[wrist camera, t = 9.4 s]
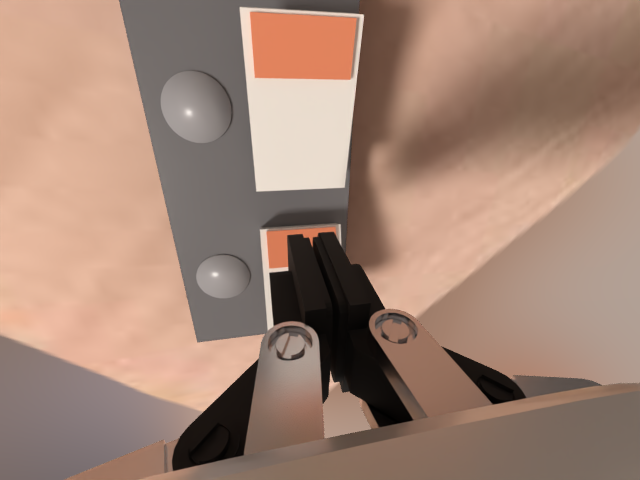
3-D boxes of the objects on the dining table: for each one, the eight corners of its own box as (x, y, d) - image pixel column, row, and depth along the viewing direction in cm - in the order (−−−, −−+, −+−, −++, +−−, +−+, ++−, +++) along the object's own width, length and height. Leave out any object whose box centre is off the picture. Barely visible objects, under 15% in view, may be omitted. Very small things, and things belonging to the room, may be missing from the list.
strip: (51, -403, 8) (-31, -600, 6) (360, -324, 10) (392, -454, 8) (202, 320, 20) (195, 351, 18) (334, 305, 21) (344, 331, 19)
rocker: (260, 227, 16) (259, 229, 14) (335, 222, 16) (341, 224, 15) (269, 344, 16) (269, 356, 15) (340, 334, 17) (346, 346, 16)
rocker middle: (240, 6, 10) (239, 7, 9) (354, 13, 11) (366, 14, 10) (255, 179, 14) (256, 193, 13) (338, 175, 15) (345, 189, 14)
